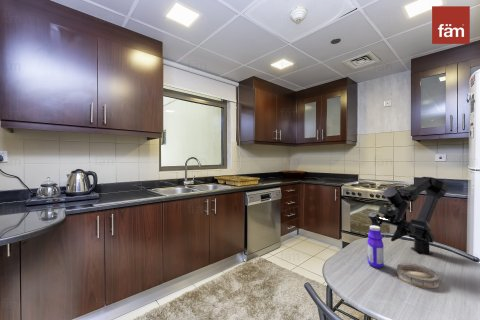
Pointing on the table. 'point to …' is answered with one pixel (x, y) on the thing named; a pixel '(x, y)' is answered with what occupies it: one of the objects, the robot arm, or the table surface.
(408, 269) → the collar base
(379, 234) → the bottle
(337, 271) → the table surface
